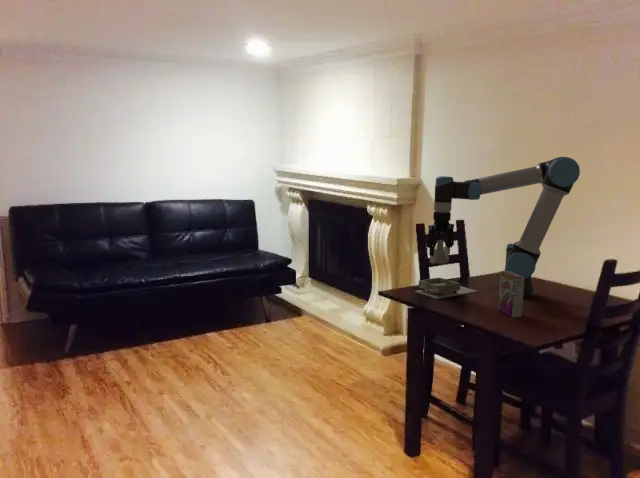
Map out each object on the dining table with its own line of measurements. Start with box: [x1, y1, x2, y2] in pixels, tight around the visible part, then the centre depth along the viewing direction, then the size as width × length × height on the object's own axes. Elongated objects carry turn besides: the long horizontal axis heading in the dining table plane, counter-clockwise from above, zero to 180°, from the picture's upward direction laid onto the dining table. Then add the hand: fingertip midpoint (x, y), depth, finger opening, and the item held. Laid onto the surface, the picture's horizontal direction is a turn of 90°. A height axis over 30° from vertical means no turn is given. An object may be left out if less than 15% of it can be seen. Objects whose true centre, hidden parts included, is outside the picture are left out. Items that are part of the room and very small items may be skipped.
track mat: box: [414, 285, 478, 300], centre depth 265 cm, size 14×26×1 cm, turn 123°
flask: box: [435, 239, 448, 265], centre depth 259 cm, size 7×7×10 cm
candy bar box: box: [497, 270, 525, 319], centre depth 230 cm, size 11×5×16 cm, turn 12°
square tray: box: [418, 277, 461, 296], centre depth 262 cm, size 13×13×5 cm
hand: (439, 262), depth 259 cm, fingers closed on flask, 8 cm apart
